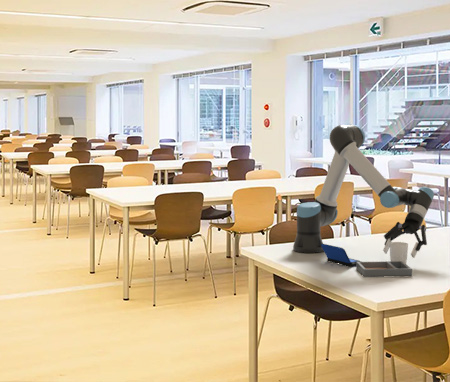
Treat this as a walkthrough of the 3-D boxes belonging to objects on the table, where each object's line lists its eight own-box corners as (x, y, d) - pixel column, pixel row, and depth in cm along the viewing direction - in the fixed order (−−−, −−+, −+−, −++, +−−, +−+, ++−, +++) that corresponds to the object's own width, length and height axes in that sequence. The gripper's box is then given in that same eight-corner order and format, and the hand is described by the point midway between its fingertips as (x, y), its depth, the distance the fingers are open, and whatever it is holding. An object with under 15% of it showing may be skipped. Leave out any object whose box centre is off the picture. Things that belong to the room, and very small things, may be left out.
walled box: (363, 277, 275) (364, 269, 274) (356, 268, 290) (356, 261, 289) (412, 276, 275) (412, 269, 275) (401, 268, 290) (402, 261, 290)
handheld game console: (365, 265, 298) (366, 245, 297) (343, 269, 290) (343, 248, 289) (341, 259, 311) (342, 239, 310) (319, 262, 304) (320, 242, 303)
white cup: (408, 268, 291) (408, 245, 290) (389, 267, 292) (390, 244, 291) (406, 264, 298) (407, 242, 297) (388, 263, 300) (389, 241, 299)
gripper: (444, 224, 297) (427, 262, 287) (393, 218, 314) (376, 255, 305) (438, 213, 292) (421, 252, 283) (388, 209, 309) (370, 245, 300)
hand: (398, 254), depth 294 cm, fingers open, 13 cm apart
